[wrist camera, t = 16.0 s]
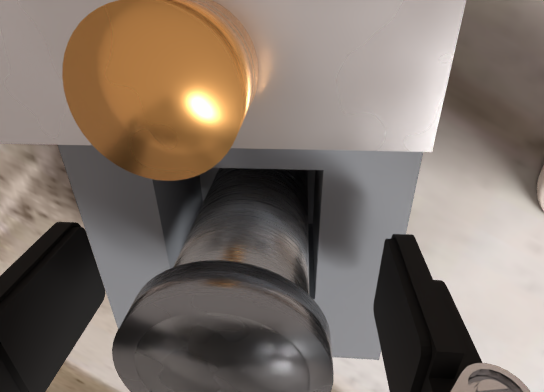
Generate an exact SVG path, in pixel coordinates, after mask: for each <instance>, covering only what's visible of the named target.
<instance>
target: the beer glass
mask: <svg viewBox="0 0 544 392" xmlns="http://www.w3.org/2000/svg"><path fill="white" fill-rule="evenodd" d="M537 198H538V201H539V204H540V206H541V208H542V210H543V211H544V165H543V167H542V169H541V171H540V174H539V177H538V181H537Z"/></svg>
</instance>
